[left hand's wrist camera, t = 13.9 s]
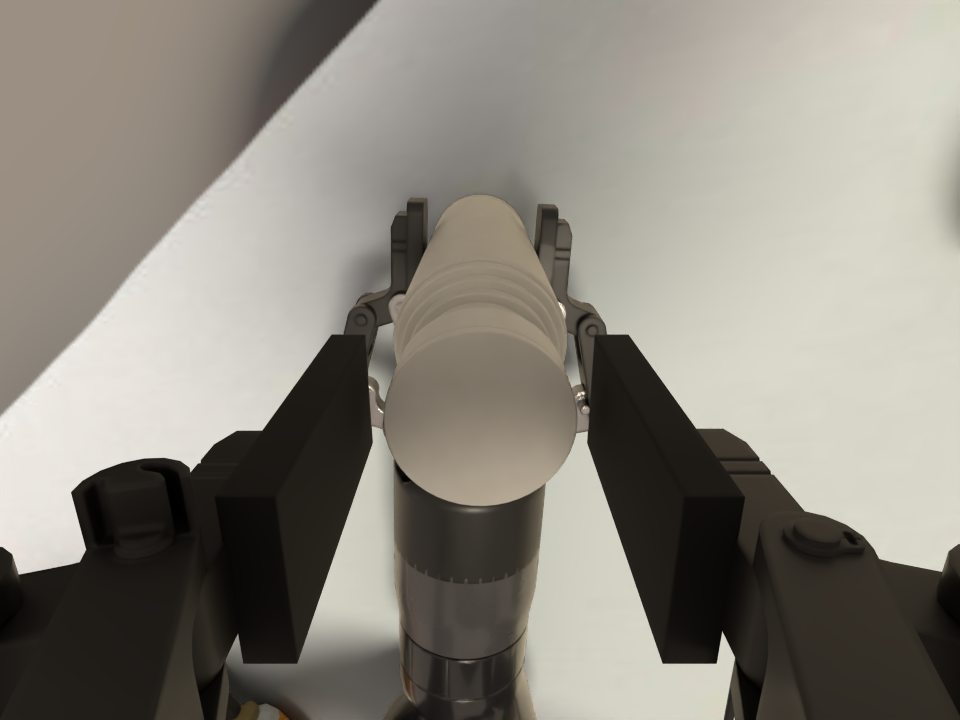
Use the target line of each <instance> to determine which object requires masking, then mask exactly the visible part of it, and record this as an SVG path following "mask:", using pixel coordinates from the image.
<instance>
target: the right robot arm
mask: <svg viewBox="0 0 960 720" xmlns="http://www.w3.org/2000/svg"><path fill="white" fill-rule="evenodd" d="M427 218H428V202H427V198H410V199H409V200H408V203H407V212H406V211H400V212H399V213H398V214H397V215H396V216H395V218H394V221H393V223H392V226H391V287H389V288H388V289H386V290H384V291H380V292H377V293H365V294H363V295H362V296H361V297H360V298H359V299H358V301H357V303H356V306H354V307H353V308H352V309H351V311H350V312H349V314H348V317H347V322H346V326H345V330H344V335H365V337H366V352H367V366H368V367H369V363H370V359H371V355H372V351H373V347H374V343H375V339H376V335H377V331H378V327H379V326H382V325H386V324H389V323H392V322H393V323H394V325H395V321H396V317H397V314H398V311H399V309H400V306H401V304H402V302H403V299H404V297H405V295H406V293H407V290H408V288H409V286H410V284H411V282H412V279H413V277H414V275H415V273H416V270H417V268H418V266H419V264H420V261H421V259H422V257H423V255H424V253H425V250H426V248H427ZM571 243H572V234H571V230H570V227H569V224H568V223H567V221H566V220H565V219H558V208H557V207H556V206H555V205H547V204H538V208H537V219H536V232H535V245H534V250H535V252H536V254H537V256H538V259H539V261H540V263H541V265H542V267H543V270H544V272H545V274H546V276H547V278H548V281H549V283H550V285H551V287H552V289H553V292H554V294H555V296H556V298H557V301H558V303H559V305H560V307H561V310H562V313H563V316H564V319H565V324H566V329H567V332H568V333H571V334H573V335H574V341H575V347H576V354H577V360H578V367H579V373H580V380H581V385H576V386H574V387H573V388H572V391H573V393H574V396H575V401H576V406H577V419H578V420H577V431H576V433H580V432H586V431H588V425H589V411H590V396H591V381H592V366H593V351H594V337H595V335H607V332H606V326H605V324H604V322H603V321H602V319H601V317H600V316H599V314H598V313H597V311H596V310H595V308H594V307H593V306H592V305H591V304H589V303H581V302H579V301H576V300H574V299H572V298H570V297H569V296H568V295H567V285H568V274H569V264H570V254H571ZM368 381H369V396H370V411H371V425H372V426H374V427H378V428H382V429H383V433H384V435H385V431H384V421H383V413H384V404H385V402H384V401H383V400H382V399H381V398H380V396H379V384H378V382H377V381H376V380H375V379H374V378H372V377H370V376H368ZM545 485H546V483H545V484H544V485H542V486H541V487H540V488H538V489H537V490H535V491H533V492H532V493H530V494H528V495H526V496H524V497H522V498H520V499H517V500H514V501H511V502H507V503H503V504H498V505H489V506H471V505H463V504H458V503H454V502H450V501H447V500H444V499H442V498H439V497H437V496H435V495H433V494H431V493H429V492H427V491H425V490H424V489H423V488H421V487H420V486H418V485H417V484H416V483H415V482H413V481H412V480H411V479H410V478H409V477H408V476H407V475H406V474H405V473H404V471H403V470H402V469H401V468H400V466H399V465H398V463H397V462H396V460H395V459H394V574H395V587H396V594H397V599H398V605H399V664H400V677H401V682H402V686H403V689H404V691H403V692H402V693H400V694H399V695H398V696H397V697H396V698H395V699H394V700H393V702H392V703H391V704H390V706H389V707H388V709H387V710H386V712H385V714H384V715H383V717H382V719H381V720H537V719H536V715H535V711H534V707H533V703H532V699H531V695H530V690H529V685H528V682H527V678H526V675H525V671H524V658H525V649H526V638H527V627H528V616H529V611H530V607H531V603H532V600H533V596H534V592H535V587H536V579H537V569H538V559H539V548H540V537H541V527H542V517H543V506H544V495H545Z"/></svg>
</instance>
